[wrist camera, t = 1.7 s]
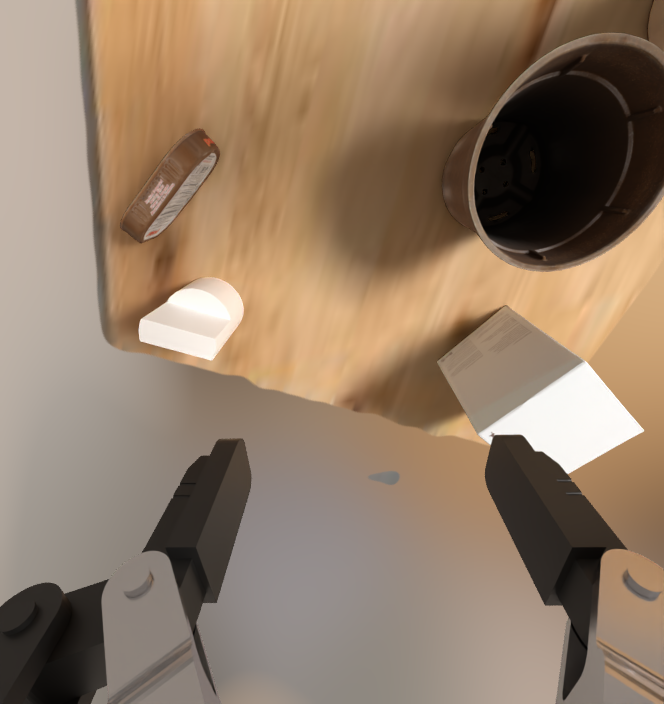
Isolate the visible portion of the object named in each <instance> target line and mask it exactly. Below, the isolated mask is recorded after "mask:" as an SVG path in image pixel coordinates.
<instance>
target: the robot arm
mask: <svg viewBox="0 0 664 704" xmlns="http://www.w3.org/2000/svg"><path fill="white" fill-rule="evenodd" d="M648 38H649V42H651V43H653V44H654V45H656V46H657V47H658V48H660V49H661V50H662V51H663V52H664V0H654V2H653V5H652V9H651V12H650V16H649V23H648ZM485 480H486V485H487V488H488V490H489V492H490V495H491V497H492V499H493V501H494V502H495V505H496V507H497V509H498V511H499V513H500V515H501V517H502V519H503V521H504V523H505V525H506V527H507V529H508V531H509V533H510V535H511V537H512V539H513V541H514V543H515V545H516V547H517V549H518V552H519V554H520V556H521V558H522V560H523V562H524V564H525V565H526V568H527V570H528V572H529V574H530V576H531V578H532V580H533V582H534V584H535V586H536V588H537V590H538V592H539V594H540V596H541V598H542V600H543V602H544V604H545V605H563V607H564V609H565V611H566V613H567V615H568V616H569V618H568V620H567V623H566V629H565V636H564V644H563V652H562V660H561V668H560V674H559V682H558V691H557V697H556V704H664V569H663V568H662V567H660V566H659V565H657V564H656V563H655V562H653V561H651V560H650V559H648V558H646V557H644V556H642V555H640V554H637V553H635V552H632V551H629V550H628V549H627V548H626V547H625V546H624V545H623V543H622V542H621V541H620V540H619V538H617V536H616V535H615V533H614V532H613V531H612V530H611V528H610V527H609V526H608V525H607V523H606V522H605V521H604V520H603V518H602V517H601V516H600V515H599V514H598V512H597V511H596V510H595V509H594V507H593V506H592V505H591V503H590V502H589V501H588V500H587V499H586V497H585V496H584V495H582V493H581V491H580V490H579V488H578V487H577V486H576V485H575V483H574V482H572V481H571V478H570V477H569V476H568V475H567V473H566V472H565V471H564V469H563V468H562V467H561V466H560V464H558V463H557V462H556V461H554V460H553V459H552V458H550V457H549V456H548V455H546V454H545V453H544V452H542V451H535V450H534V449H533V448H532V446H531V445H530V444H529V442H528V441H527V439H526V438H525V437H524V436H523V435H520V434H515V435H495V436H494V437H493V439H492V443H491V447H490V451H489V456H488V460H487V464H486V468H485ZM250 488H251V470H250V466H249V461H248V456H247V452H246V447H245V442H244V440H243V439H219V440H218V441H217V442H216V444H215V446H214V448H213V450H212V452H211V454H210V456H200V457H199V458H198V459H197V460H196V461H195V463H193V464H192V465H191V466H190V467H189V468H188V470H187V471H186V473H185V475H184V477H183V479H182V481H181V482H180V486H178V488H177V490H176V491H175V493H174V496H173V499H171V501H170V503H169V504H168V506H167V508H166V510H165V512H164V514H163V515H162V517H161V519H160V521H159V523H158V525H157V527H156V529H155V530H154V532H153V534H152V536H151V537H150V539H149V541H148V543H147V545H146V547H145V548H144V550H143V551H142V553H141V554H138V555H136V556H134V557H132V558H131V559H129V560H128V561H126V562H125V563H124V564H122V565H121V566H120V567H119V568H118V569H117V570H116V571H115V572H114V573H113V575H112V576H111V578H110V579H108V580H105V581H102V582H99V583H96V584H93V585H90V586H87V587H84V588H81V589H78V590H75V591H72V592H69V593H66V594H64V593H63V591H62V590H61V589H60V587H59V586H57V585H56V584H53V583H41V584H37V585H34V586H31V587H29V588H27V589H25V590H23V591H21V592H20V593H18V594H17V595H15V596H13V597H12V598H11V599H9V600H8V601H7V602H5V603H4V604H3V605H2V606H1V607H0V704H91V702H92V699H93V697H94V695H95V693H96V690H97V689H99V688H102V687H104V686H107V689H108V703H107V704H221V701H220V698H219V695H218V691H217V688H216V684H215V681H214V678H213V674H212V671H211V667H210V664H209V661H208V657H207V654H206V651H205V647H204V644H203V640H202V637H201V633H200V630H199V627H198V623H197V619H198V615H199V613H200V610H201V606H202V604H203V603H217V600H218V596H219V593H220V590H221V586H222V583H223V580H224V576H225V573H226V569H227V566H228V563H229V560H230V556H231V553H232V549H233V546H234V543H235V539H236V536H237V533H238V529H239V526H240V523H241V519H242V516H243V513H244V509H245V506H246V502H247V499H248V495H249V492H250Z"/></svg>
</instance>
